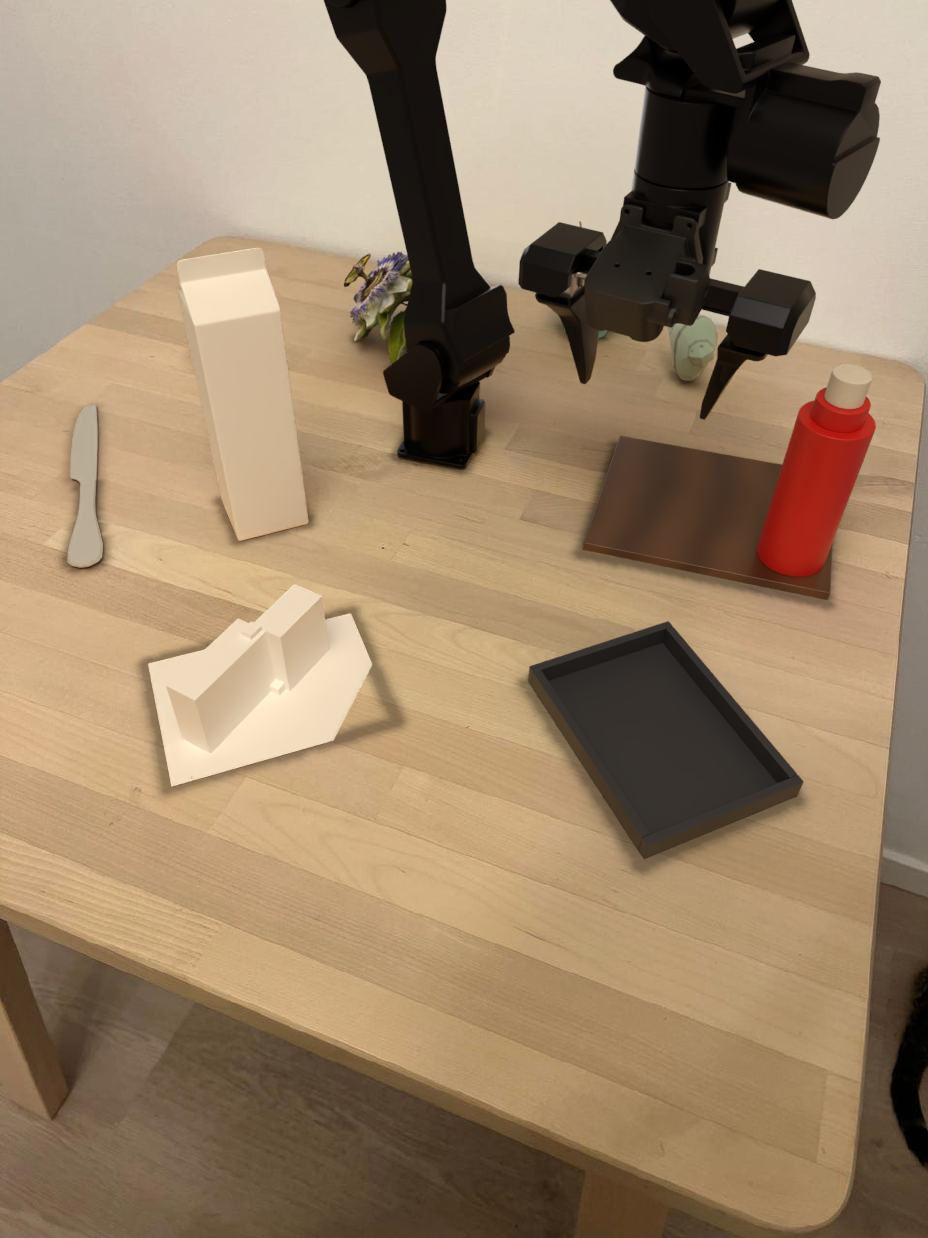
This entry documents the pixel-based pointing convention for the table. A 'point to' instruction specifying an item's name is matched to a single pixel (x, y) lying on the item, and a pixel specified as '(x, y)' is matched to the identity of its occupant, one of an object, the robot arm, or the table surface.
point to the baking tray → (661, 737)
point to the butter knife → (85, 491)
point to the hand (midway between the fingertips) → (643, 398)
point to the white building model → (259, 688)
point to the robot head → (692, 346)
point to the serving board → (692, 514)
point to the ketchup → (818, 474)
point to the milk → (244, 389)
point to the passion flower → (382, 300)
